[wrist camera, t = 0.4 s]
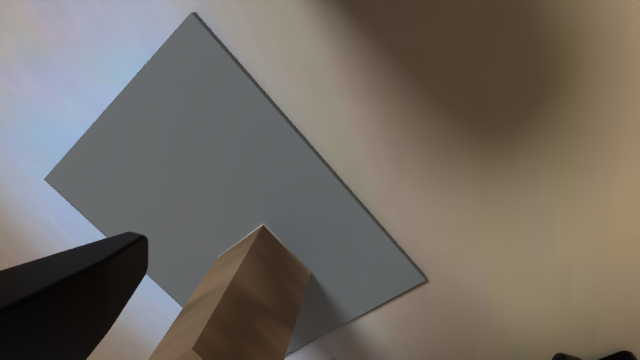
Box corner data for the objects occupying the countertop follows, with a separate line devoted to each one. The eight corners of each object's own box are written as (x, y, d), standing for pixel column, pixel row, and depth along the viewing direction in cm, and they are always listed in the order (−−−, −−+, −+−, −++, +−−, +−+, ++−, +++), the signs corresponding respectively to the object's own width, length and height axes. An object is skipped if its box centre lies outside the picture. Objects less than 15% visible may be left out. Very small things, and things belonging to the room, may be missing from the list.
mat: (425, 276, 23) (425, 280, 23) (254, 367, 29) (252, 372, 28) (194, 12, 19) (191, 12, 19) (49, 176, 25) (43, 179, 25)
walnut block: (311, 272, 24) (266, 416, 16) (263, 301, 26) (200, 446, 18) (264, 222, 23) (191, 349, 15) (217, 256, 25) (129, 387, 17)
